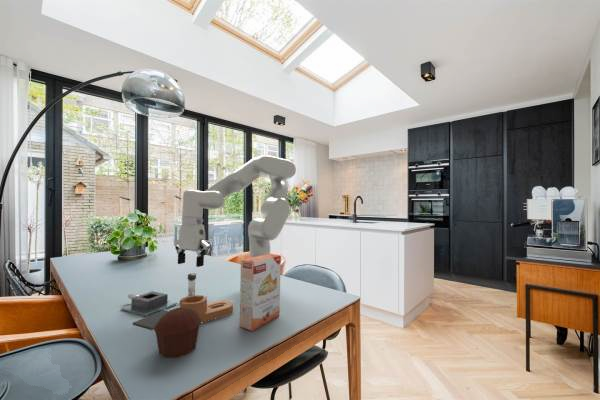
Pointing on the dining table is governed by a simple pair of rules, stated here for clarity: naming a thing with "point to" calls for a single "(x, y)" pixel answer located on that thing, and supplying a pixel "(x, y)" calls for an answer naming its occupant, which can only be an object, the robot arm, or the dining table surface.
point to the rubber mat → (150, 320)
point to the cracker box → (259, 290)
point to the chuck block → (148, 303)
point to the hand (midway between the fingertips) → (190, 264)
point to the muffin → (177, 332)
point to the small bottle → (191, 284)
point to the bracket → (207, 307)
